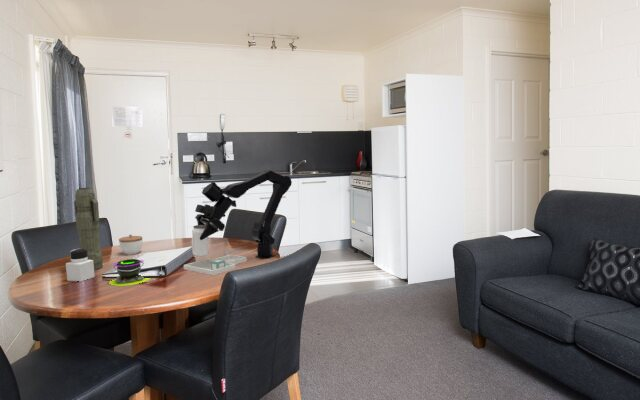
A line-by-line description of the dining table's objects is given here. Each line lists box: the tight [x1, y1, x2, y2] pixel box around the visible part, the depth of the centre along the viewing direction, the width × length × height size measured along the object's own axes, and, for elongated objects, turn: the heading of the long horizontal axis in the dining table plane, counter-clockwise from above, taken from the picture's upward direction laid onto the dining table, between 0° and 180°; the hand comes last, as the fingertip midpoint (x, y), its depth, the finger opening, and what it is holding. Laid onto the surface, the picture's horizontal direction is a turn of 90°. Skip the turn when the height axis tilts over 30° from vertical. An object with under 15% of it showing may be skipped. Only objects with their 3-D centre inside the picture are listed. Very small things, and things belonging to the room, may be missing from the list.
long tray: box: [183, 258, 237, 276], centre depth 195 cm, size 12×18×2 cm
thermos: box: [73, 187, 104, 271], centre depth 202 cm, size 9×12×35 cm
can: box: [191, 224, 209, 257], centre depth 197 cm, size 6×6×12 cm
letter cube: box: [211, 259, 225, 270], centre depth 191 cm, size 4×4×4 cm
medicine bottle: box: [65, 248, 96, 283], centre depth 187 cm, size 7×7×12 cm
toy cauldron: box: [108, 254, 151, 287], centre depth 183 cm, size 15×15×11 cm
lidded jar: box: [118, 234, 143, 256], centre depth 231 cm, size 11×11×9 cm
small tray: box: [212, 254, 248, 265], centre depth 205 cm, size 10×10×2 cm
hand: (197, 238), depth 195 cm, fingers closed on can, 6 cm apart
